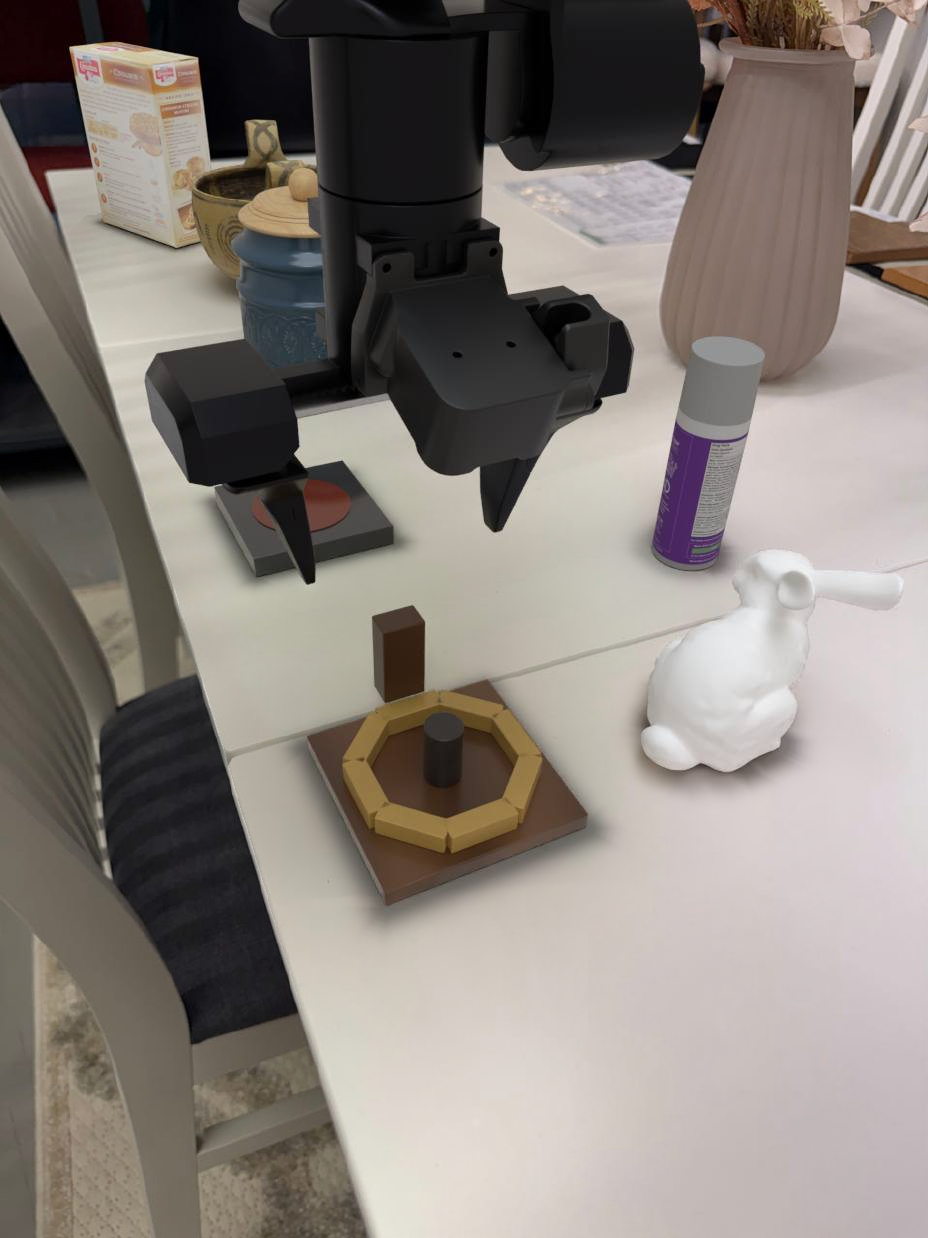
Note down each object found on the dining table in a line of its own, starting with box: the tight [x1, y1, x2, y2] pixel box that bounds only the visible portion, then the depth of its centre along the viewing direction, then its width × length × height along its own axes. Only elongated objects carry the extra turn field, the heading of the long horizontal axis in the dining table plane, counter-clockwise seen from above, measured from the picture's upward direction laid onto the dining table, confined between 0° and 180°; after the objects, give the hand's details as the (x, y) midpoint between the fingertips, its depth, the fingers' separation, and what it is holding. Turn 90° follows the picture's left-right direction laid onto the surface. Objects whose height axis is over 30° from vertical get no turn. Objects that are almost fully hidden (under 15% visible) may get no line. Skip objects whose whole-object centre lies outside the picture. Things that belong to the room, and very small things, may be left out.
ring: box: [342, 604, 542, 853], centre depth 48 cm, size 10×11×6 cm
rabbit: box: [640, 549, 905, 773], centre depth 49 cm, size 12×9×12 cm
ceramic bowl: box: [191, 119, 317, 282], centre depth 101 cm, size 22×17×15 cm
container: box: [651, 335, 766, 572], centre depth 63 cm, size 5×5×15 cm
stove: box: [213, 459, 395, 578], centre depth 68 cm, size 10×10×2 cm
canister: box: [231, 168, 328, 368], centre depth 83 cm, size 13×13×18 cm
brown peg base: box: [306, 678, 589, 906], centre depth 48 cm, size 11×11×4 cm
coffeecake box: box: [69, 41, 213, 249], centre depth 113 cm, size 15×7×20 cm, turn 51°
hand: (403, 552), depth 43 cm, fingers open, 9 cm apart
